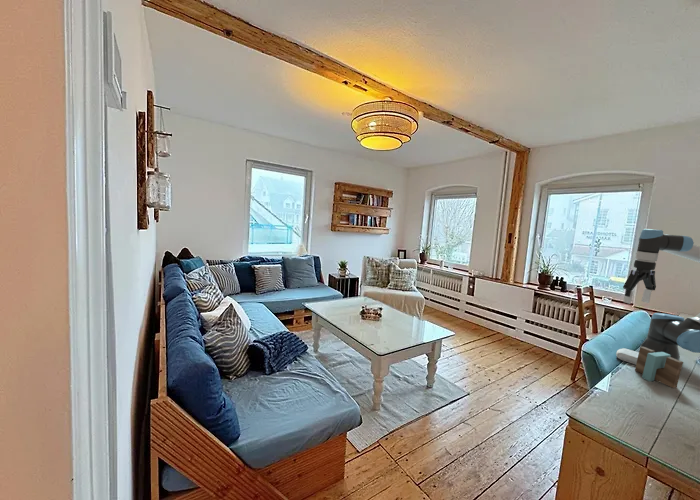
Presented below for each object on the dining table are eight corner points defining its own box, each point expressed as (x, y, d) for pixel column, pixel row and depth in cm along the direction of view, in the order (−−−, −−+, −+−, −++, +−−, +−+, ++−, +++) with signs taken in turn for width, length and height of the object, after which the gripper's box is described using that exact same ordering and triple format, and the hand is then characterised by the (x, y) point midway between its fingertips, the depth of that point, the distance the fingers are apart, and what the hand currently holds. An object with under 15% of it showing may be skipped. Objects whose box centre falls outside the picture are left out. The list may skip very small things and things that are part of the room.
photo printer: (650, 363, 151) (618, 353, 161) (652, 355, 151) (619, 345, 160) (646, 369, 145) (613, 358, 154) (648, 361, 144) (615, 350, 154)
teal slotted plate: (656, 375, 139) (662, 351, 138) (664, 379, 137) (670, 355, 135) (641, 377, 137) (647, 353, 135) (649, 381, 134) (656, 356, 132)
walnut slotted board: (638, 370, 144) (643, 346, 142) (676, 387, 130) (683, 361, 129) (634, 370, 143) (640, 347, 141) (673, 388, 130) (679, 362, 128)
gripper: (652, 259, 153) (643, 299, 156) (619, 258, 146) (610, 300, 149) (671, 262, 146) (661, 304, 149) (637, 262, 139) (628, 305, 142)
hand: (636, 302), depth 149 cm, fingers open, 13 cm apart
